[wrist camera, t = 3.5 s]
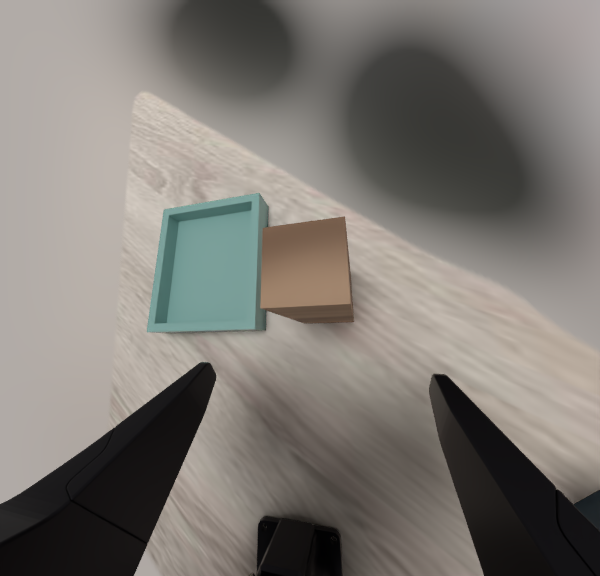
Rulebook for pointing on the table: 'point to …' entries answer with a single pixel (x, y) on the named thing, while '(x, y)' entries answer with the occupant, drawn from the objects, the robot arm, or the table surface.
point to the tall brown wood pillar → (307, 271)
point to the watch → (591, 508)
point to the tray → (210, 267)
